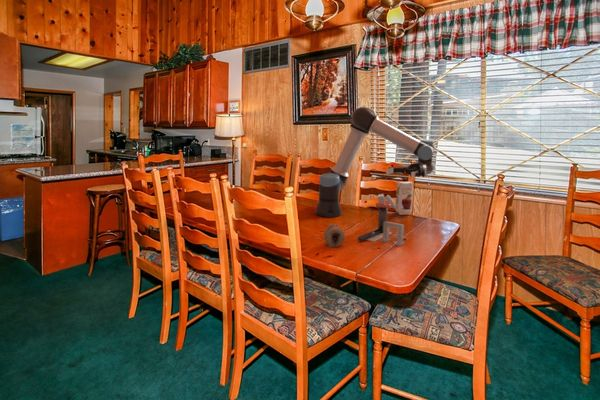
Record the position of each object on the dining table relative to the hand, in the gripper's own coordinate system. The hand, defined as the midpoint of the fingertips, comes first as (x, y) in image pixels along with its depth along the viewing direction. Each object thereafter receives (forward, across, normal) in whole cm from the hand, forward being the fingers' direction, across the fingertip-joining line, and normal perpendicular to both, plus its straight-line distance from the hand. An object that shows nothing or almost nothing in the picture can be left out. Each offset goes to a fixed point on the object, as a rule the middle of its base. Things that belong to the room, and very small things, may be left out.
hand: (398, 173), depth 190 cm
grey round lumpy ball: (+44, +6, -29) cm, 53 cm away
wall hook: (-38, +24, -29) cm, 53 cm away
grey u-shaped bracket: (+23, -11, -28) cm, 38 cm away
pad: (+19, 0, -28) cm, 34 cm away
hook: (+21, 0, -28) cm, 35 cm away
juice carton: (-32, +10, -28) cm, 44 cm away
